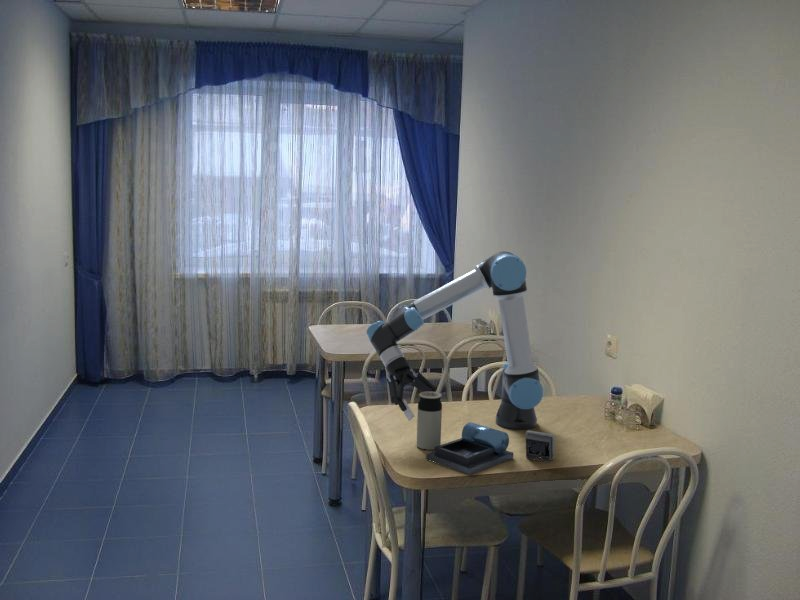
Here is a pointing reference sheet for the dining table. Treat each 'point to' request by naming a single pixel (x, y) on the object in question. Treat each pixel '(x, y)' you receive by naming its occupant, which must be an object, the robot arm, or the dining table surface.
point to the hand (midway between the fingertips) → (425, 414)
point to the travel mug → (429, 420)
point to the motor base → (473, 450)
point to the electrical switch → (540, 446)
